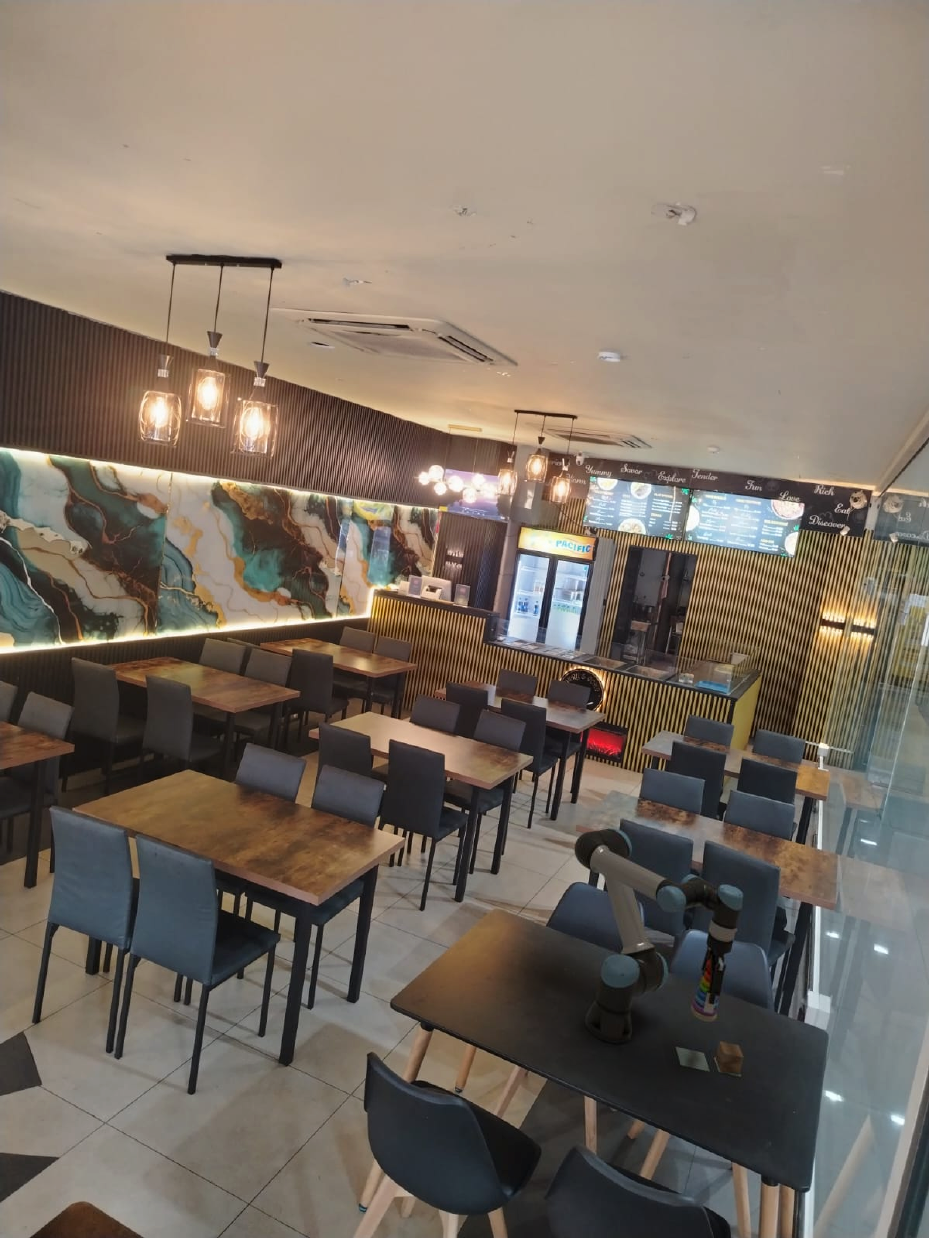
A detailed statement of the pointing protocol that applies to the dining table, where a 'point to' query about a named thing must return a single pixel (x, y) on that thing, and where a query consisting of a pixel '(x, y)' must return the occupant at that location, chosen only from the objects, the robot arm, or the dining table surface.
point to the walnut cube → (729, 1058)
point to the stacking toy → (704, 998)
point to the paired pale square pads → (695, 1060)
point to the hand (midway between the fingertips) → (705, 1003)
